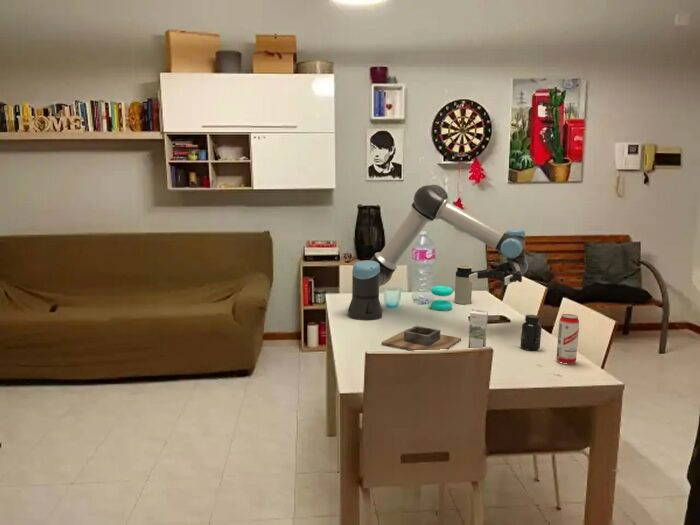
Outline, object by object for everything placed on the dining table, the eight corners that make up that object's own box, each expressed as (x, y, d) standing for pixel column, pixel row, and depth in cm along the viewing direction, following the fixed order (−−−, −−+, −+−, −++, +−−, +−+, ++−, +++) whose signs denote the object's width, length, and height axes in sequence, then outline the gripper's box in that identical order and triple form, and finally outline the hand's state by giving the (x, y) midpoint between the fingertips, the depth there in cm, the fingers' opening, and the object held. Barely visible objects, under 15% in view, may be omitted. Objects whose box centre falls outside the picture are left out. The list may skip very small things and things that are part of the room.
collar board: (381, 344, 203) (381, 332, 202) (408, 330, 221) (408, 319, 221) (437, 356, 191) (438, 343, 191) (461, 340, 210) (461, 329, 209)
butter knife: (557, 376, 174) (565, 375, 175) (509, 353, 196) (515, 352, 197) (557, 377, 174) (565, 376, 175) (508, 354, 196) (515, 353, 197)
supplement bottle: (541, 351, 198) (543, 319, 196) (521, 350, 200) (523, 317, 198) (538, 346, 205) (541, 314, 203) (519, 344, 206) (521, 313, 204)
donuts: (457, 288, 256) (442, 290, 250) (456, 309, 258) (441, 312, 252) (441, 284, 264) (426, 286, 258) (440, 305, 265) (425, 307, 259)
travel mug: (468, 305, 265) (470, 268, 262) (452, 303, 269) (454, 266, 266) (472, 302, 272) (474, 265, 270) (456, 300, 276) (458, 264, 273)
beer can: (552, 358, 191) (556, 313, 188) (570, 358, 192) (574, 313, 189) (561, 365, 185) (565, 318, 182) (579, 364, 185) (583, 318, 183)
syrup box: (485, 349, 200) (488, 309, 198) (484, 354, 195) (486, 313, 192) (469, 347, 202) (472, 308, 200) (467, 352, 196) (469, 312, 194)
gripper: (539, 282, 215) (521, 292, 198) (477, 278, 229) (456, 287, 212) (539, 263, 214) (521, 272, 197) (477, 260, 228) (455, 268, 211)
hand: (487, 280), depth 204 cm, fingers open, 13 cm apart
